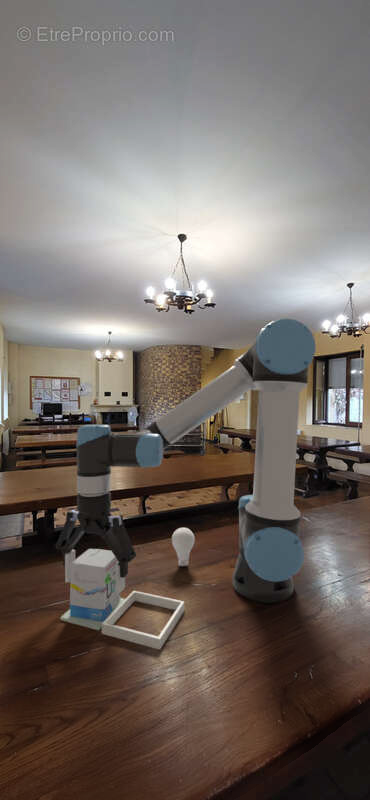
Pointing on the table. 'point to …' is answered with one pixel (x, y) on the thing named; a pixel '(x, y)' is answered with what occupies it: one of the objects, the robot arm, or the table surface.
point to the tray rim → (140, 636)
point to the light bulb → (183, 544)
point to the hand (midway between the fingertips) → (94, 585)
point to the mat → (86, 622)
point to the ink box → (93, 585)
